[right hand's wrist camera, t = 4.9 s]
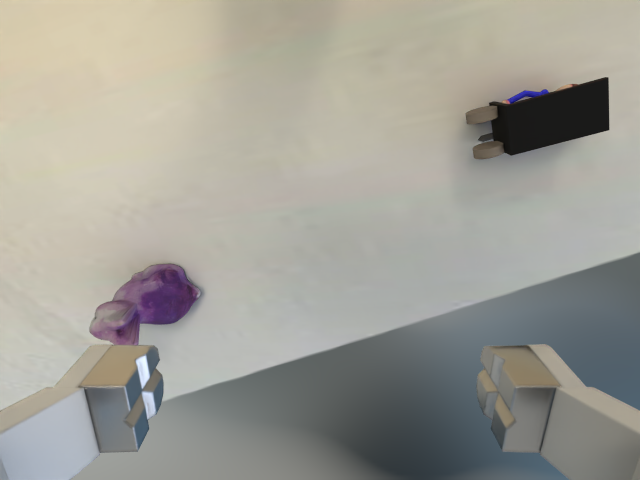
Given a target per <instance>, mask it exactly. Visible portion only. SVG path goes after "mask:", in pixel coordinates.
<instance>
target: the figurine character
mask: <svg viewBox="0 0 640 480" xmlns="http://www.w3.org/2000/svg"><path fill="white" fill-rule="evenodd" d="M525 96H527V97H533V98H529V99H525V100H522V101H518V102H515V101H517V100H519V99H521V98H523V97H525ZM514 102H515V103H514ZM466 119H467V124H477V123H482V122H487V121H490V120H491V122H492V130H493V133H490V134H487V135H483V136H481V137H480V138H479V139H478V140H480V141H483V142H484V141H487V140H491V139H494V141H491V142H486V143H482V144H479V145H477V146H475V147H473V154H474V158H475V159H488V158H493V157H496V156H499V155H501V154H503V153H504V152H505V153H507V154H509V155H515V154H519V153H523V152H527V151H531V150H534V149H538V148H542V147H546V146H550V145H554V144H557V143H561V142H565V141H569V140H573V139H577V138H581V137H584V136H588V135H592V134H596V133H600V132H604V131H607V130H609V85H608V77H605V78H601V79H597V80H594V81H590V82H587V83H583V84H579V85H578V84H569V85H565V86H563V87H560V88H559V89H557V90H556V91H554V92H551V93H549V92H548V90H546V89H545V90H542V91H541V92H533V91H523V92H521V93H519V94H517V95H515V96H514V97H512V98H510V99H508V100H504V101H502V103H500V102H490V103H489V106H486V107H481V108H477V109H474V110H471V111H469V112H467V113H466Z"/></svg>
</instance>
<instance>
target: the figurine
mask: <svg viewBox="0 0 640 480" xmlns="http://www.w3.org/2000/svg"><path fill="white" fill-rule="evenodd" d="M200 294H201V292H200V290H199V289H198V288H197V287H196V286H194V285H193V284H191V283H190V282H189V281H188V280H187V278H186V276H185V274H184V270H183V269H182V268H181V267H179V266H177V265H174V264H160V265H153V266H150V267H148V268H146V269H145V270H144V271H142V272H139V273H136V274H134V275H133V276H132V279H131V280H130V281H128V282H127V283H126V284H124V285H123V286H122V287H121V288H120V289H119V290H118V291H117V292H116V294H115V296H114V298H113V301H110V302H106V303H104V304H102V305H100V306H99V307H98V308H97V309H96V311H95V317H94V318H93V320H92V322H91V324H90V329H89V331H90V333H91V334H92V335H93V336H94V337H96V338H98V339H102V340H107V341H110V342H112V343H113V344H114V345H138V342H139V327H140V324H159V325H162V324H171V323H175V322H176V321H178V320H179V319H181V318H182V317H183V316H184V315H185V314H186V313H187V312H188V311H189V309H190V307H191V306H192V305H193V303H194V302H195V301H196V300H197V299H198V298H199V296H200Z"/></svg>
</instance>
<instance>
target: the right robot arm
mask: <svg viewBox="0 0 640 480" xmlns="http://www.w3.org/2000/svg"><path fill="white" fill-rule="evenodd" d="M159 361H160V358H159V354H158V349H157V348H156V347H155V346H152V345H93V346H90V347H89V348H88V349H87V350H86V351H85V352H84V354H83V355H82V356H81V357H80V358H79V359H78V360H77V361H76V363H75V364H74V365H73V366H72V367H71V368H70V369H69V370H68V372H67V373H66V374H65V375H64V376H63V377H62V378H61V379H60V381H59V382H58V383H57V384H56V385H55V386H54V387H47V388H45V389H43V390H41V391H39V392H37V393H35V394H33V395H31V396H29V397H27V398H25V399H23V400H21V401H19V402H17V403H15V404H13V405H11V406H9V407H7V408H5V409H3V410H1V411H0V480H71V479H72V478H73V477H74V476H75V475H76V474H78V473H79V472H80V471H81V470H82V469H84V468H85V467H86V466H87V465H88V464H90V463H91V462H92V461H93V460H94V459H95V458H97V457H98V456H99V455H100V453H107V452H137V451H138V450H139V448H140V446H141V444H142V442H143V440H144V438H145V436H146V434H147V432H148V430H149V425H148V420H149V419H150V418H152V417H153V416H155V415H156V414H157V412H158V410H159V407H160V405H161V401H162V397H163V377H162V374H161V373H160V372H159V371H158V370H157V369H156V366H157V364H158V362H159ZM480 361H481V362H482V364H483V366H484V369H483V370H482V371H481V372H480V373H479V374H478V377H477V385H476V388H477V398H478V402H479V405H480V408H481V410H482V412H483V414H484V415H485V416H487V417H488V418H490V419H491V420H492V425H491V430H492V432H493V434H494V436H495V438H496V440H497V442H498V444H499V446H500V448H501V450H502V451H503V452H533V453H540V455H541V456H542V457H544V458H545V459H546V460H547V461H548V462H549V463H551V464H552V465H553V466H554V467H555V468H557V469H558V470H559V471H560V472H561V473H563V474H564V475H565V476H566V477H567V478H568V479H570V480H640V411H639V410H637V409H635V408H633V407H631V406H629V405H627V404H625V403H623V402H621V401H619V400H617V399H615V398H613V397H611V396H609V395H607V394H605V393H603V392H601V391H599V390H597V389H595V388H593V387H586V386H585V385H584V384H583V383H582V382H581V381H580V379H579V378H578V377H577V376H576V375H575V374H574V373H573V372H572V370H571V369H570V368H569V367H568V366H567V365H566V364H565V363H564V362H563V360H562V359H561V358H560V357H559V356H558V355H557V354H556V352H555V351H554V350H553V349H552V348H551V347H550V346H548V345H545V344H541V345H523V346H484V348H483V350H482V353H481V358H480Z"/></svg>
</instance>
